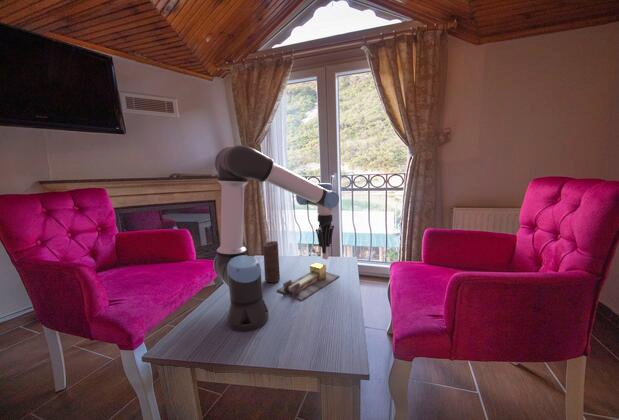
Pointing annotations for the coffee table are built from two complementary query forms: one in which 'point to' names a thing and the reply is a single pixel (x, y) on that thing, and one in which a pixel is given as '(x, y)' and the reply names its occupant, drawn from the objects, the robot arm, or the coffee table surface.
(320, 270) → the collar
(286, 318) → the coffee table surface
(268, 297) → the coffee table surface
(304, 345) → the coffee table surface
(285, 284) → the tongs base
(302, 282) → the bar
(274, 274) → the brown wooden block
